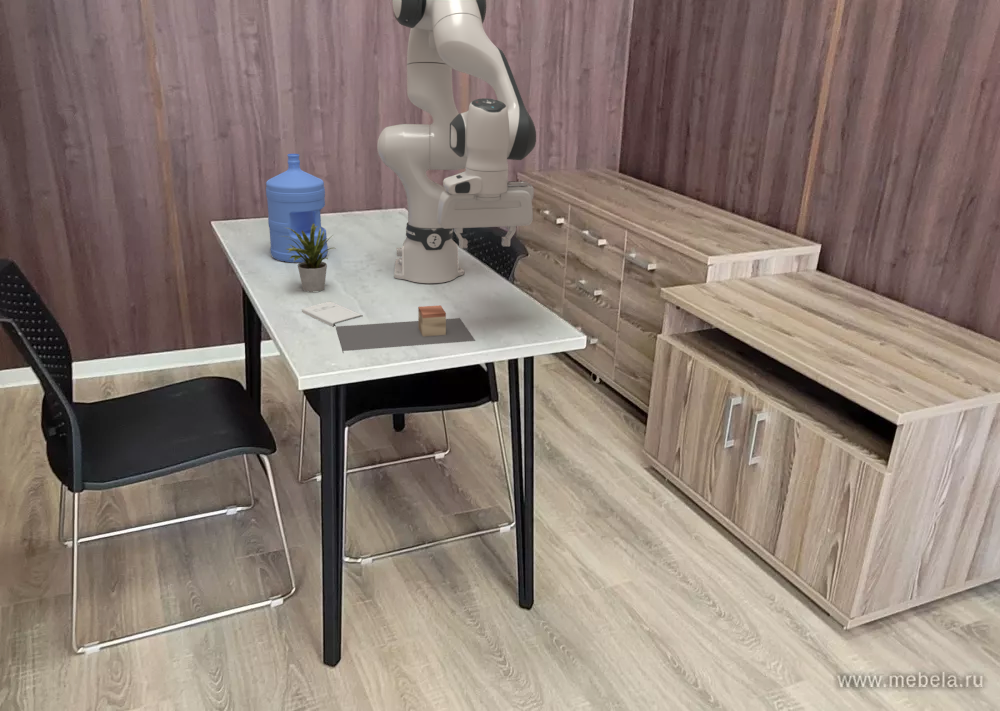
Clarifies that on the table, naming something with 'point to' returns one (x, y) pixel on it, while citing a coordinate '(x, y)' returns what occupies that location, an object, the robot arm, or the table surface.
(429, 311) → the maple block
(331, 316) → the external hard drive
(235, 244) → the table surface
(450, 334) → the rubber mat
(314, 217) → the water jug
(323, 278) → the house plant
